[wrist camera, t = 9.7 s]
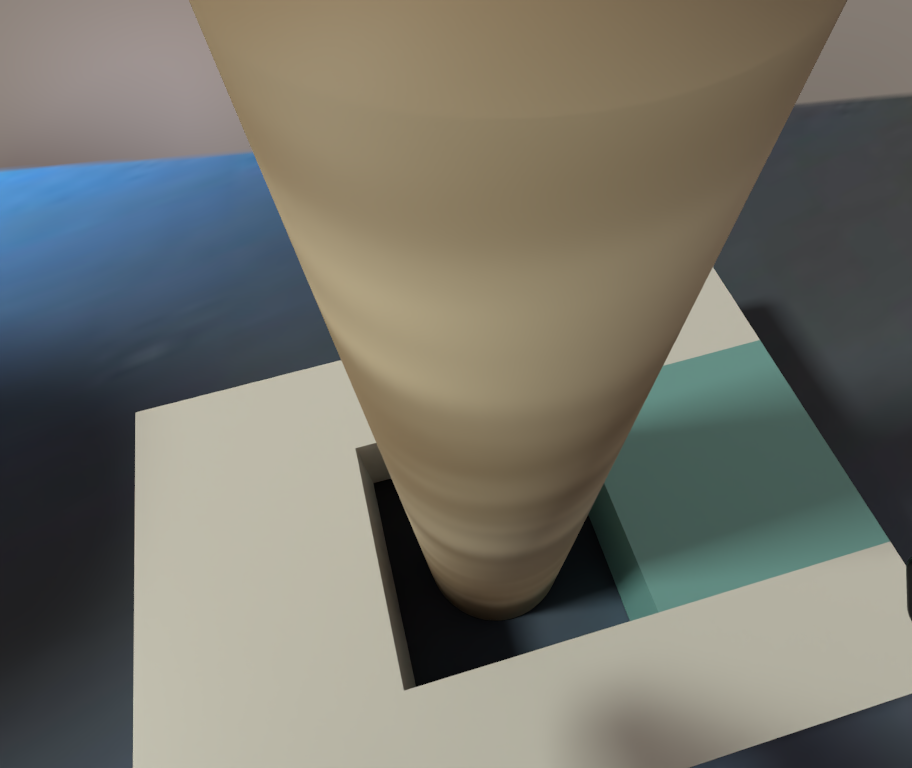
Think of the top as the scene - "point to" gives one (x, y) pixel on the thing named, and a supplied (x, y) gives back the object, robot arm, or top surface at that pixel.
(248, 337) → the top surface
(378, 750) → the socket plate
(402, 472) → the birch peg
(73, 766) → the top surface
